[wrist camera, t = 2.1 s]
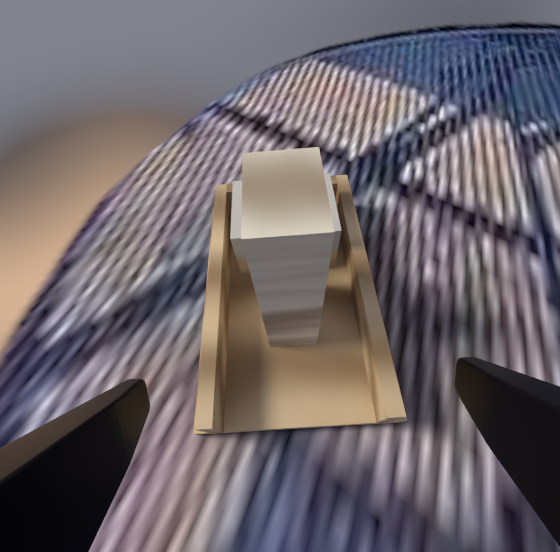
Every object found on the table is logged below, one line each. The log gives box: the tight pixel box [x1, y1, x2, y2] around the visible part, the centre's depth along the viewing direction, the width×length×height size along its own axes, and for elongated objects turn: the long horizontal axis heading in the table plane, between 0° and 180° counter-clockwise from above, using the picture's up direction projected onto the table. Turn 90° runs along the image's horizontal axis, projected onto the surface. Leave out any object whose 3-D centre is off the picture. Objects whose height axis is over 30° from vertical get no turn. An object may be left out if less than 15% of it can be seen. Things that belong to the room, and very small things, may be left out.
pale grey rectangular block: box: [241, 147, 335, 347], centre depth 18 cm, size 5×4×13 cm
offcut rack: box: [193, 175, 408, 435], centre depth 24 cm, size 20×14×4 cm
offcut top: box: [230, 174, 342, 258], centre depth 24 cm, size 6×8×2 cm
